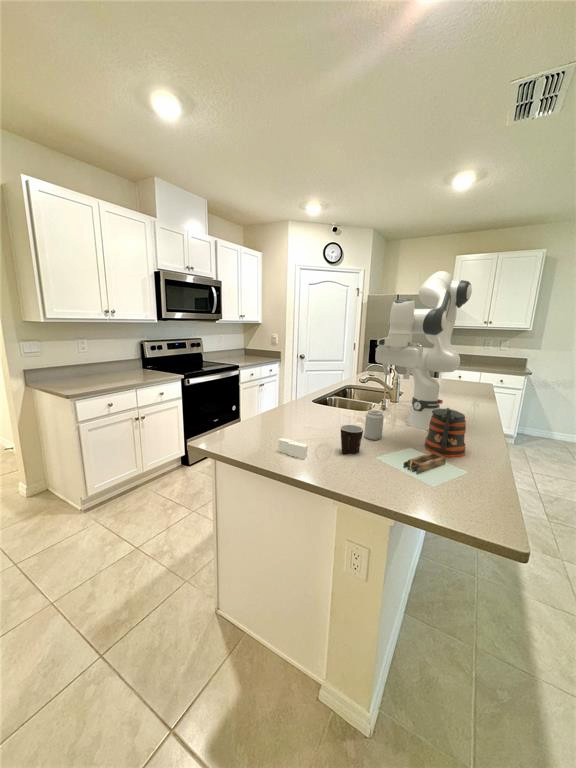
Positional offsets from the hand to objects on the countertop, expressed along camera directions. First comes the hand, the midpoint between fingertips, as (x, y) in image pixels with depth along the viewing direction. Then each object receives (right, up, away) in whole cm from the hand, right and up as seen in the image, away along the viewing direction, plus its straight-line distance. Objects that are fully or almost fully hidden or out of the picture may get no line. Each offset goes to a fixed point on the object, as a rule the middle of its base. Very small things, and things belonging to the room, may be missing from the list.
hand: (396, 377), depth 122 cm
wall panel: (+4, -32, -13) cm, 35 cm away
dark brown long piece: (+5, -32, -14) cm, 35 cm away
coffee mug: (-20, -30, -3) cm, 36 cm away
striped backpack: (+19, -31, -1) cm, 36 cm away
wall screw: (-1, -32, -18) cm, 37 cm away
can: (-5, -27, +15) cm, 31 cm away
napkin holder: (-41, -30, -4) cm, 51 cm away
